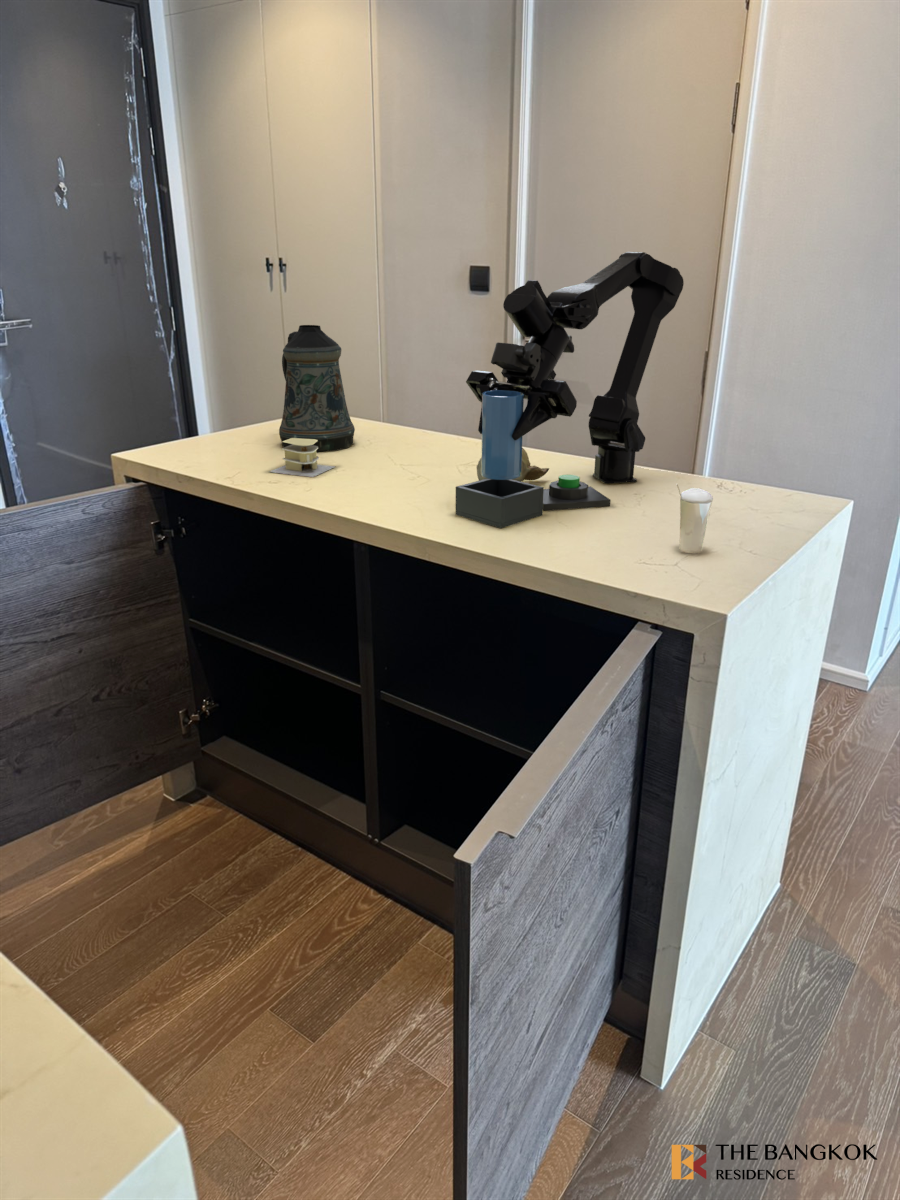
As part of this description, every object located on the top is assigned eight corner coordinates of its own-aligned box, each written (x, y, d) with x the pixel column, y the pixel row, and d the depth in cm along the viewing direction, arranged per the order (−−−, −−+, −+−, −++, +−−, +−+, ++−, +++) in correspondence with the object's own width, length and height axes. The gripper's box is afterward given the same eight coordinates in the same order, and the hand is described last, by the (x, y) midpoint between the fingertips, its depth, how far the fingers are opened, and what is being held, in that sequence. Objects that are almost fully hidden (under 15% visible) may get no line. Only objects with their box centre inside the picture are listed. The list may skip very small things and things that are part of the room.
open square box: (497, 502, 149) (497, 475, 147) (542, 515, 142) (543, 487, 141) (455, 514, 142) (455, 486, 141) (501, 528, 136) (501, 499, 134)
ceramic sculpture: (462, 440, 154) (506, 431, 166) (459, 487, 157) (503, 475, 169) (513, 448, 148) (554, 438, 160) (509, 497, 151) (550, 484, 163)
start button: (574, 483, 151) (575, 473, 150) (582, 489, 148) (582, 479, 147) (555, 484, 150) (555, 475, 149) (562, 490, 147) (563, 480, 146)
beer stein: (329, 455, 181) (322, 331, 171) (253, 446, 188) (243, 327, 179) (369, 440, 195) (365, 324, 185) (297, 432, 202) (290, 321, 193)
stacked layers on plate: (268, 472, 168) (266, 444, 166) (293, 462, 176) (291, 435, 174) (313, 477, 165) (311, 448, 162) (336, 466, 172) (334, 439, 170)
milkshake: (664, 545, 128) (671, 480, 125) (699, 544, 129) (707, 479, 125) (674, 555, 124) (682, 488, 120) (710, 554, 125) (719, 487, 121)
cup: (525, 471, 141) (528, 391, 136) (514, 481, 136) (516, 398, 131) (488, 468, 143) (490, 389, 138) (475, 477, 138) (476, 395, 133)
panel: (590, 492, 155) (591, 476, 154) (610, 506, 147) (611, 489, 146) (526, 496, 153) (527, 480, 152) (543, 511, 145) (544, 493, 143)
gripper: (473, 318, 139) (428, 397, 136) (570, 326, 128) (523, 411, 124) (502, 364, 148) (460, 438, 144) (595, 374, 136) (552, 455, 133)
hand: (496, 435), depth 136 cm, fingers closed on cup, 6 cm apart
